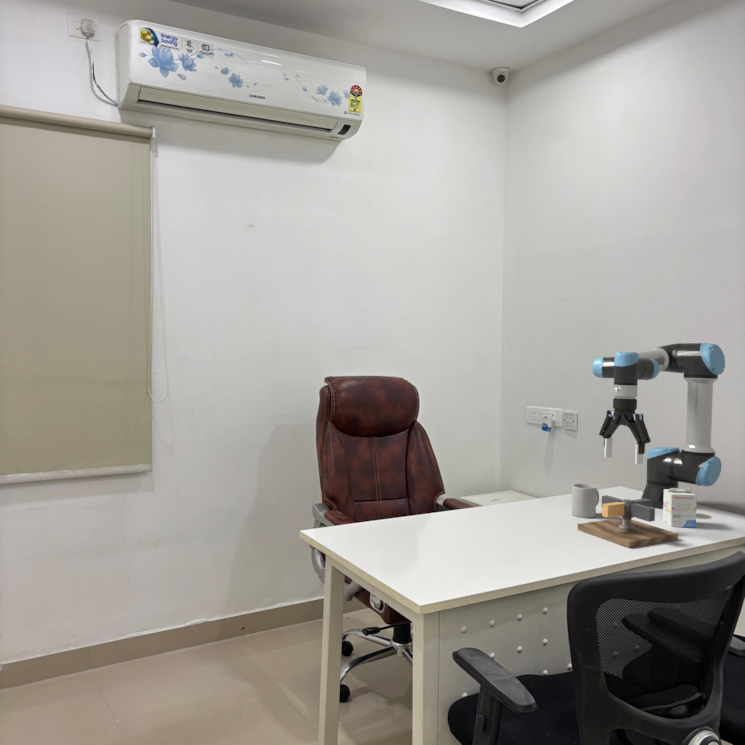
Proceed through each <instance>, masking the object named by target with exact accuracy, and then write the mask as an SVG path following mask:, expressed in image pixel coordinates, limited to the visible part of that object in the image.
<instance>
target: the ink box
mask: <svg viewBox="0 0 745 745" xmlns="http://www.w3.org/2000/svg"><path fill="white" fill-rule="evenodd" d="M692 491H693V488H690V487H688V488H687V487H685V488H684V487H683V488H682V487H678V488H670V489H664V499H663V508H662V521H663V522H664V523H666V524H667V525H668V526H669V527H670V528H697V497H698V496H697V494H695V493H693V492H692Z"/></svg>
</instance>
